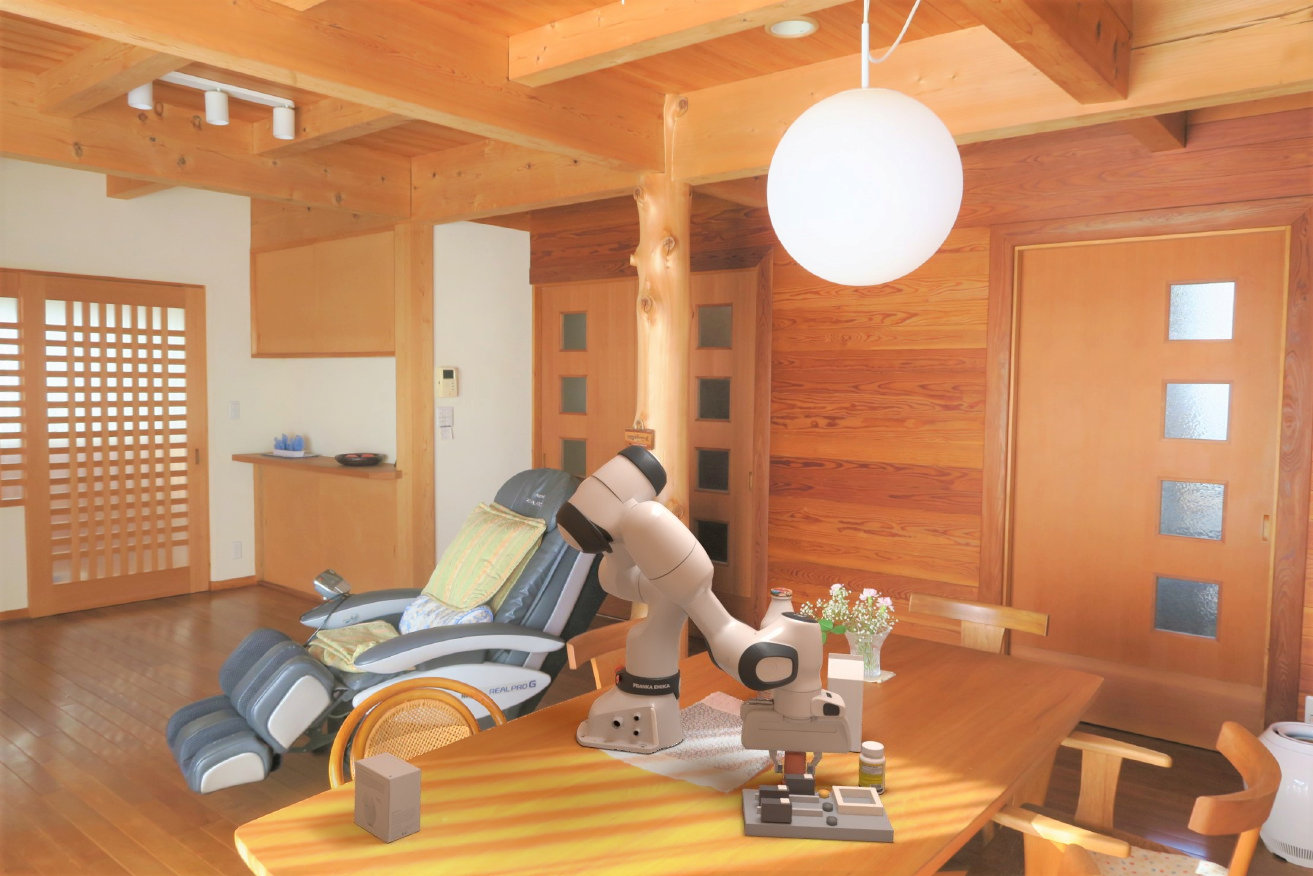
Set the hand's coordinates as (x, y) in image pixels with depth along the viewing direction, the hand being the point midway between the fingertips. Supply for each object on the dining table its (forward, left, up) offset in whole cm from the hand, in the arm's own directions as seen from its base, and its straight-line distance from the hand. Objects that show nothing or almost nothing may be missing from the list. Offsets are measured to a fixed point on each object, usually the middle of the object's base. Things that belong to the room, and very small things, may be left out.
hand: (794, 773), depth 171 cm
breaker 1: (-5, -14, 0) cm, 15 cm away
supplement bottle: (+14, -1, -2) cm, 14 cm away
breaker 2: (-5, -19, 0) cm, 20 cm away
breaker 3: (0, -9, 0) cm, 9 cm away
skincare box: (-69, -23, -2) cm, 73 cm away
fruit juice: (0, +38, -2) cm, 38 cm away
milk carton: (+12, +20, -2) cm, 23 cm away
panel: (+2, -14, -2) cm, 14 cm away
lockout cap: (0, 0, -2) cm, 2 cm away
